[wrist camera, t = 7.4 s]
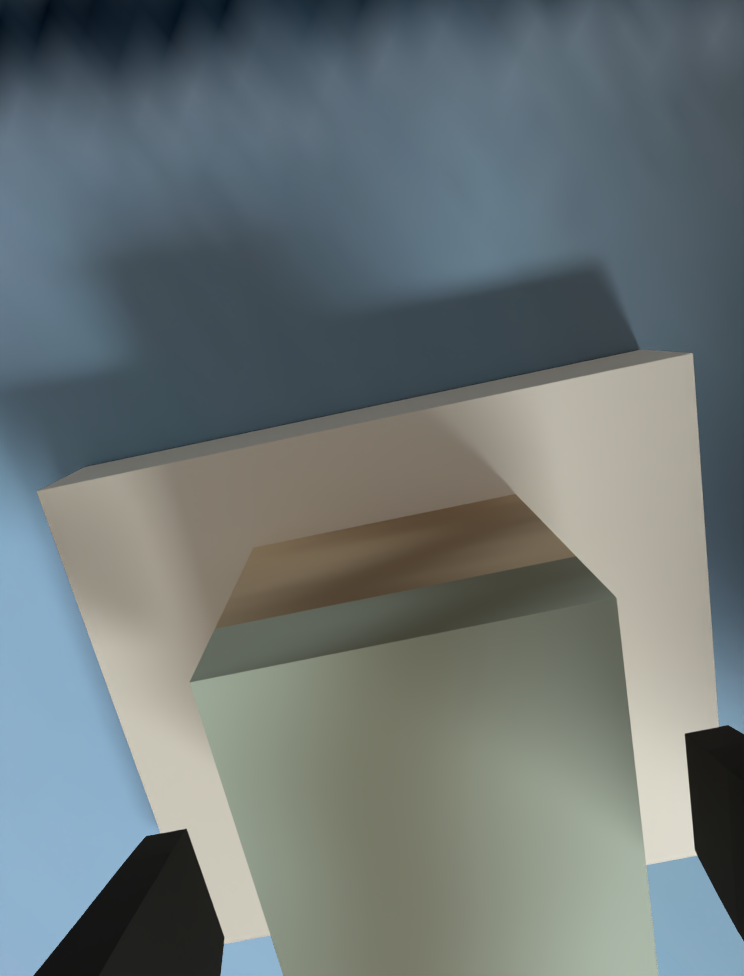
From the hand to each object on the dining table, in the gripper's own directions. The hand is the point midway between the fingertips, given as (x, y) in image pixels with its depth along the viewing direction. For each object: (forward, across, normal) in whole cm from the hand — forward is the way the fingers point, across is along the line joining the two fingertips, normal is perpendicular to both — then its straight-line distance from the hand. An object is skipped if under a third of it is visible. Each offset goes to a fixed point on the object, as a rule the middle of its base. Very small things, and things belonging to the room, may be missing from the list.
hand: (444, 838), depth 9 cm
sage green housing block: (+4, 0, 0) cm, 4 cm away
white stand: (+6, 0, 0) cm, 6 cm away
